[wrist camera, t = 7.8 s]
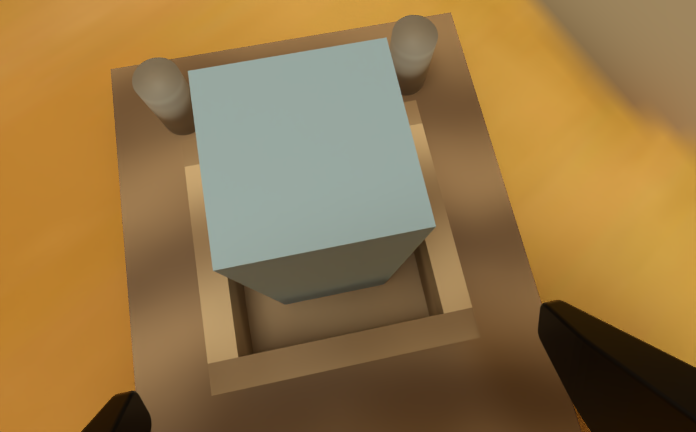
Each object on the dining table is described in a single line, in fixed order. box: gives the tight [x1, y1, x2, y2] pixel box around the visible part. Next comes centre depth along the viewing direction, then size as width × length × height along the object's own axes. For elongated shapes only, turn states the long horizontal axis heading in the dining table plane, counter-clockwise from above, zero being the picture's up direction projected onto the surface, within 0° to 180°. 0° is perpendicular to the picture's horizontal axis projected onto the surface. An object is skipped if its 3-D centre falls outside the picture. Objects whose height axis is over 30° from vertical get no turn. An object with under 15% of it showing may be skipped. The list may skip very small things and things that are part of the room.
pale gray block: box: [188, 37, 436, 305], centre depth 13 cm, size 4×4×10 cm
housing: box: [111, 13, 581, 432], centre depth 17 cm, size 20×16×4 cm
